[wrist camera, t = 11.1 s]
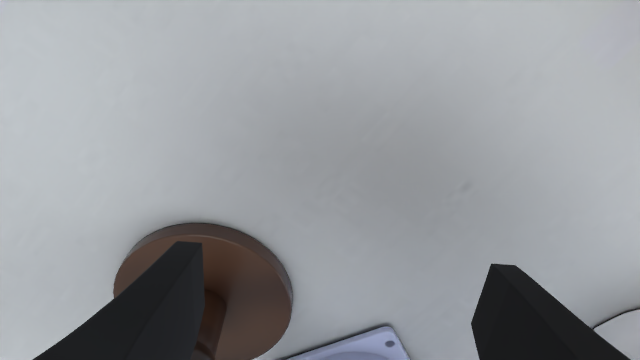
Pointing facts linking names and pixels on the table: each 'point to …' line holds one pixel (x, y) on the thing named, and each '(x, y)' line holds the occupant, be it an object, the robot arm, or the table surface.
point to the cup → (623, 333)
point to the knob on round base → (225, 289)
